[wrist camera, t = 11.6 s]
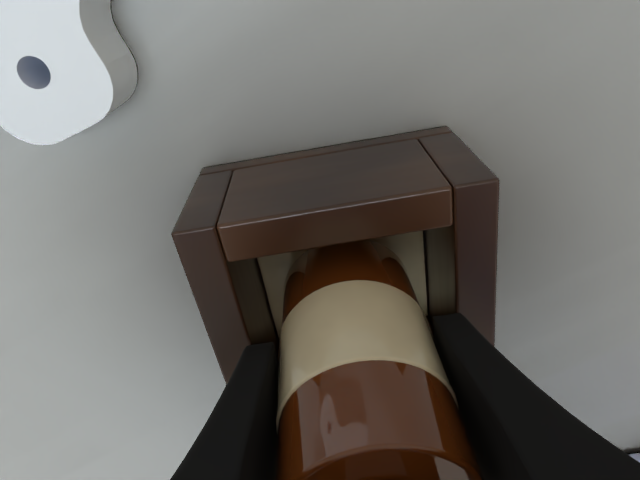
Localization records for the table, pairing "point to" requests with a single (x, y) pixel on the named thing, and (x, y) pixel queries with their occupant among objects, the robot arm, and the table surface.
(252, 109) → the table surface
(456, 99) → the table surface
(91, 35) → the mounting plate
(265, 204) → the cup holder
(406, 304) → the spice bottle
